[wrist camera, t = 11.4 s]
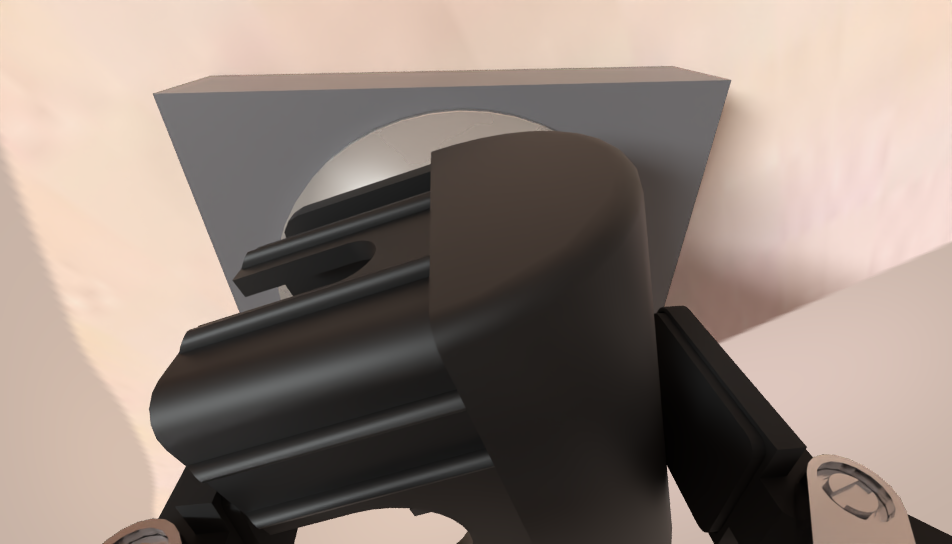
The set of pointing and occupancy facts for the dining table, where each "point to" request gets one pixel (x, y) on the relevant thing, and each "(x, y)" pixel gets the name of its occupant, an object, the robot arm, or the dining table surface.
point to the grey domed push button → (425, 140)
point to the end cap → (443, 355)
